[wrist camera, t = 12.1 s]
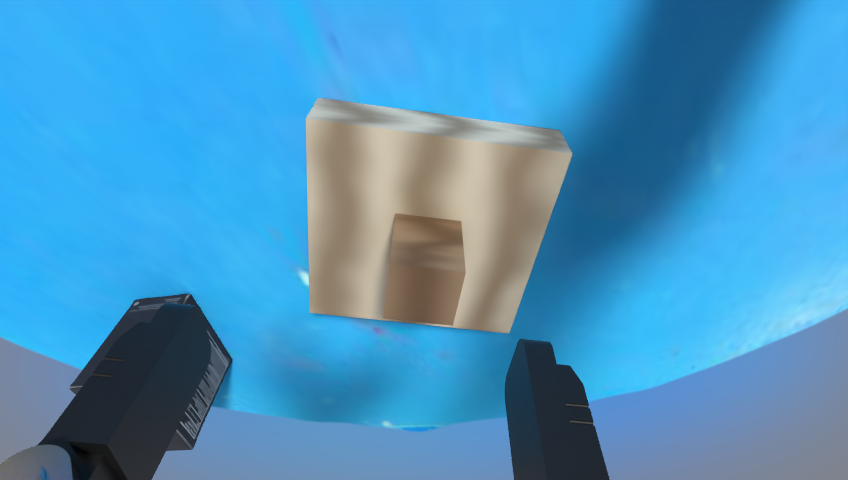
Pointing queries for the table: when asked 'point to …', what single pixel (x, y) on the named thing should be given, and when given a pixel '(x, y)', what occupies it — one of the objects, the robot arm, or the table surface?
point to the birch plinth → (426, 203)
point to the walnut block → (425, 270)
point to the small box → (208, 386)
